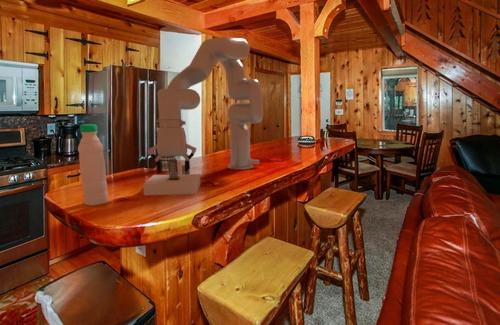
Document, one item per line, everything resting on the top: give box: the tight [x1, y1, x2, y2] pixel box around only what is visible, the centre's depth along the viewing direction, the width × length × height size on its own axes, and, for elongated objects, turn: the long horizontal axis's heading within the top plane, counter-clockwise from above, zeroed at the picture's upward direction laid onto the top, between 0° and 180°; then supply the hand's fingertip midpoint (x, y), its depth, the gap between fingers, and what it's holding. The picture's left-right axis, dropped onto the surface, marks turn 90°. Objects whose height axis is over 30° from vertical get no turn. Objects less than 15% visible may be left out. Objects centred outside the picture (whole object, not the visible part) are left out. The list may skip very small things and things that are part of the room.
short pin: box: [181, 164, 191, 174], centre depth 128 cm, size 3×3×6 cm
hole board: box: [143, 173, 201, 196], centre depth 111 cm, size 18×14×4 cm
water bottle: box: [77, 123, 109, 207], centre depth 94 cm, size 7×7×25 cm
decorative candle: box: [154, 117, 177, 172], centre depth 145 cm, size 9×9×25 cm
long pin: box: [168, 158, 179, 180], centre depth 111 cm, size 3×3×11 cm
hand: (173, 171), depth 111 cm, fingers open, 9 cm apart
